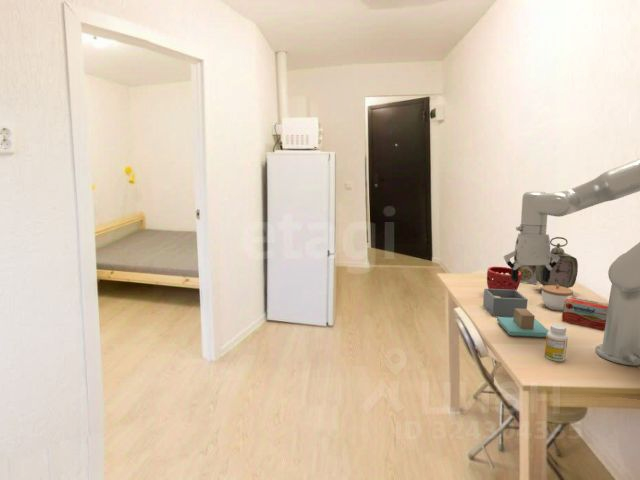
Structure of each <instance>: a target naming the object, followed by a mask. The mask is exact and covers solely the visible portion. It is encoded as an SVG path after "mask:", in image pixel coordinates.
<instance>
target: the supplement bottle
mask: <svg viewBox="0 0 640 480" xmlns="http://www.w3.org/2000/svg"><path fill="white" fill-rule="evenodd" d="M548 331H549V332H548V333H547V336H545V337H546V339H545V347H544V357H545V358H547V360H551V361H555V362H564V361H565V360H566V355H567V348H568V340H569V336H568V334H567V333H566V332H567V326H565V325H564V324H559V323H552V324H550V327H549V330H548Z"/></svg>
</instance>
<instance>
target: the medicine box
mask: <svg viewBox="0 0 640 480" xmlns="http://www.w3.org/2000/svg"><path fill="white" fill-rule="evenodd" d="M608 303H609V302H608ZM608 303H607V302H601V301H596V300H590V299H585V298H580V297H574V296H572V297H570V296H569V297H568V298H567V299H566V300H565V302H564V306H563V310H562V313H561V321H562V322H564V323H568V324H571V325H572V324H573V325H578V326H581V327H586V328H591V329H595V330H599V331H603V332H604V331H605V324H606V317H607V310H608Z"/></svg>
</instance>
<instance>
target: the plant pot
mask: <svg viewBox="0 0 640 480" xmlns="http://www.w3.org/2000/svg"><path fill="white" fill-rule="evenodd" d="M520 279H521V272H520V271H518V281H517V282H515V281H513V280H512V278H511V268H510V267H506V266H489V267H488V268H487V273H486V285H487V289H508V290H517V291H518V289H519V286H520V284H521V282H520Z"/></svg>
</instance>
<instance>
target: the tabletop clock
mask: <svg viewBox="0 0 640 480" xmlns="http://www.w3.org/2000/svg"><path fill="white" fill-rule="evenodd" d="M556 239H557V240H558V239H559V240H560V239H561V240H564V241H565V242H566V243H565V244H560V243H556V244H554V243H553V240H556ZM568 244H569V243H568V239H566V238H565V237H562V236H560V237H559V236H555V237H552V238H551V239H550V246H553V247H552V248H551V249H550V252H551V253H553V254H555V255H557V256H559V257H560V259H559V260H558V262H557V263H556V265H555V266H554V267H553V268H552V270H550V279H548V282H545V281H543V280H542V273H543V268H544V266H543V265H536V273H535V274H536V279H537V283H538V282H539V284H541V285H542V287H543V286H546V285H555V286H556V285H559V286H562V287H566V288H569V289H571V288H572V287H574V286H575V283H576V281H577V277H578V268H579V264H578V259H577V258H576V257H574V256H572V255H571V254H568V253H565V251H564V248H562V247H565V246H567V245H568ZM552 260H553V258H552V257H550V262H551V261H552ZM539 293H540V294H542V289H540V290H539Z"/></svg>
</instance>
